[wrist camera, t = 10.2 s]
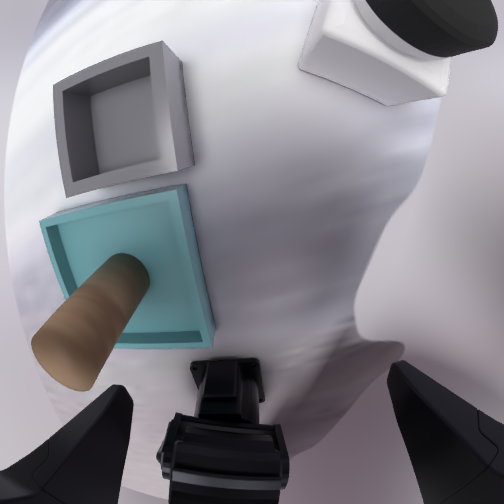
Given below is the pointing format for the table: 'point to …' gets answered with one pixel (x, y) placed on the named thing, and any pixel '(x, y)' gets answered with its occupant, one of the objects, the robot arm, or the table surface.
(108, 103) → the grey square open box
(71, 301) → the walnut dowel
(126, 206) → the tray
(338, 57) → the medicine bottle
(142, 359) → the table surface
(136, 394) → the table surface
